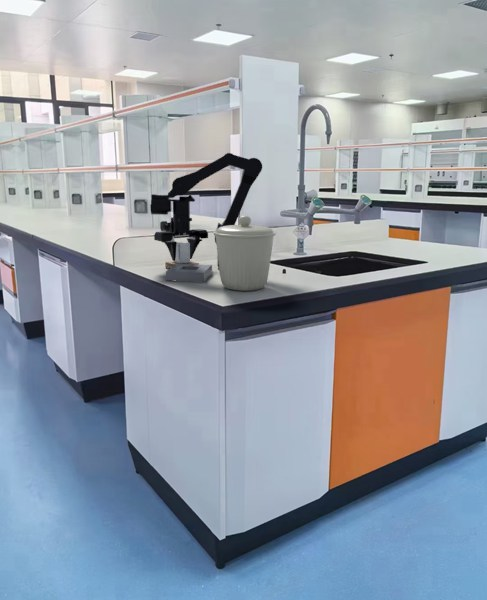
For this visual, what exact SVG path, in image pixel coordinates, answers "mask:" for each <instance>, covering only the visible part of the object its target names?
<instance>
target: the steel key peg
mask: <svg viewBox="0 0 487 600" xmlns="http://www.w3.org/2000/svg"><path fill="white" fill-rule="evenodd" d="M176 242H177V241H176ZM190 261H191V259H190V243H188V241H187V242H186V241H180V242H179V241H178V242H177V245H176V258H175V261H174V263H176V264H189V263H190Z"/></svg>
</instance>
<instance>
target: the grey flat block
mask: <svg viewBox="0 0 487 600" xmlns="http://www.w3.org/2000/svg"><path fill="white" fill-rule="evenodd" d="M212 275H213V265H212V264H199V265H198V264H176V265H174V266H173V267H171V268H170V269H168V268H167V270H166V271H165V281H166V280H176V281H175V282H182V281H193V282H192V283H205V282H206V281H207V280H208V279H207V278H210V277H211V276H212ZM205 280H206V281H205ZM194 281H195V282H194Z"/></svg>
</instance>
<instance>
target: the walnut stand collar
mask: <svg viewBox="0 0 487 600" xmlns="http://www.w3.org/2000/svg"><path fill="white" fill-rule="evenodd" d="M164 264H165V266H164V267H166V269H168V268H171V267H173V266H174V265H176V263H174V261H173V260H171V261H165V263H164ZM189 264H198V265H200V262H197V261H196V262H195V261H191V260H190V263H189Z"/></svg>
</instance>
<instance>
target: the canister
mask: <svg viewBox="0 0 487 600" xmlns="http://www.w3.org/2000/svg"><path fill="white" fill-rule="evenodd" d="M251 222H252V219H251V217H250V216H248V215H241V216H240V217H238V223H239V224H235V225H229V226H223V227H220V228H218V229H217V228H216V229H217V230H216V229H215V230H214V231H213V235H214V234H215V235H216V242H215V245H216V252H217V254H216V255H217V264H218V263H219V269H218V271H219V276H220V277H219V278H220V281H221V284H222V286H223V287H225V288H226V289H228V290H233V291H239V292H240V291H241V292H242V291H243V292H249V291H257V290H261V289H263V288H265V286H266V285H267V283H268V279H269V272H270V266H271V259H272V258H271V257H272V252H273V251H272V250H273V243H274V237H275V236H276V234H277V232H276V231H273V229H272V228H271V227H267V226H264V225H255V224H251ZM215 235H214V236H215Z"/></svg>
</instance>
